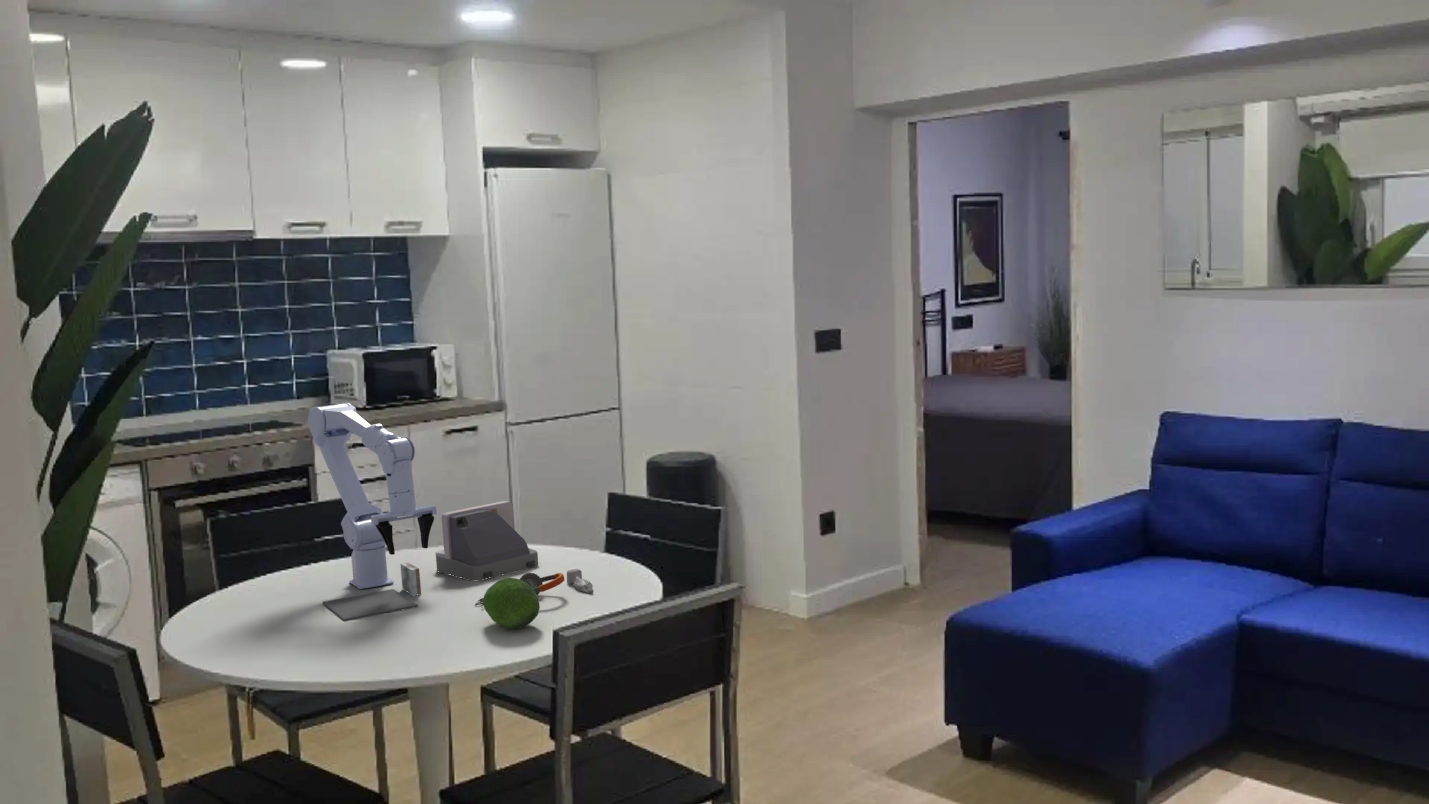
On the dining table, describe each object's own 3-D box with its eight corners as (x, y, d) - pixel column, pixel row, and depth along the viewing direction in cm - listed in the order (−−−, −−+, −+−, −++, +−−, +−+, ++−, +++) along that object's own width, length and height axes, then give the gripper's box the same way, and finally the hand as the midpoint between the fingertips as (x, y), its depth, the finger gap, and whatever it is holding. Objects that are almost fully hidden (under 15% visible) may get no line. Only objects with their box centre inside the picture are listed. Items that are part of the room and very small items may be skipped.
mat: (322, 603, 275) (322, 601, 275) (393, 590, 283) (393, 588, 283) (344, 620, 260) (344, 619, 260) (418, 606, 268) (418, 604, 268)
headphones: (490, 578, 280) (571, 558, 275) (497, 600, 280) (578, 580, 275) (460, 598, 263) (545, 577, 259) (467, 622, 264) (552, 601, 259)
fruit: (473, 623, 253) (469, 575, 252) (518, 613, 258) (514, 566, 257) (503, 639, 240) (499, 589, 239) (549, 628, 246) (546, 579, 245)
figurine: (580, 583, 282) (580, 568, 282) (598, 599, 272) (599, 584, 271) (566, 584, 281) (566, 569, 280) (583, 601, 270) (584, 586, 270)
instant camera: (509, 554, 315) (505, 496, 313) (546, 568, 298) (542, 507, 296) (430, 569, 303) (425, 509, 301) (464, 585, 286) (459, 521, 284)
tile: (402, 589, 284) (400, 563, 284) (410, 588, 285) (408, 562, 285) (413, 596, 278) (411, 570, 277) (421, 594, 279) (419, 568, 278)
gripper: (374, 497, 272) (381, 558, 273) (438, 487, 279) (445, 546, 280) (365, 495, 278) (373, 555, 279) (428, 485, 286) (435, 543, 286)
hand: (408, 550), depth 280 cm, fingers open, 7 cm apart
